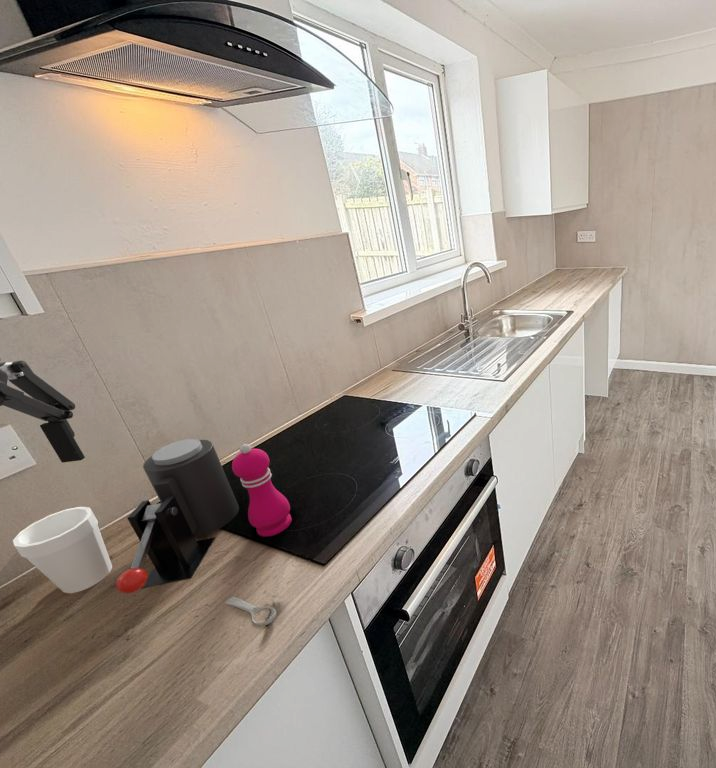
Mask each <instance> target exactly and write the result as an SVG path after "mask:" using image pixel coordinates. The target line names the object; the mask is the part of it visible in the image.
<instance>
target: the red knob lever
mask: <svg viewBox="0 0 716 768" xmlns="http://www.w3.org/2000/svg"><path fill="white" fill-rule="evenodd" d="M161 505H162V503H161V502H159V503H153V504H151V505H148V506H147V507H146V510H145V513H144V515H143V518H142V521H143V522H144V523H146V524H147V525H146V528H145V531H144V534H143V536H142V539H141V542H140V541H139V545H138V547H137V550H136V553H135V556H134V558H133V561H132V564H131V566H130V568H129V569H126V570H125V571H123V572H122V573H121V574H119V576H118V577H117V579H116V581H115V582H116V583H115V585H116V586H115V587H116V589H117V591H119V592H120V593H122V594H133V593H136V592H138V591H140V590H141V588H142V587H143V586H144V585H145V584H146V582H147V578H148V576H149V575H148V573H147V571H146V570H145V569H143V568H144V564H145V562H146V559H147V556H148V554H147V553H148V551H149V548H150V545H151V542H152V539H153V536H154V533H155V530H156V528H157V525H160V523H159V521H158V519H157V517H156V515H155V514H154V513H155V512H156V510H157V509H158V508H159V507H160V506H161ZM142 589H143V588H142Z"/></svg>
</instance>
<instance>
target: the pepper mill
mask: <svg viewBox="0 0 716 768" xmlns="http://www.w3.org/2000/svg"><path fill="white" fill-rule="evenodd" d="M270 461H271V460H270V458H269V455H268V454H267V452H266V451H264V450H263V449H260V448H252V446H251V445H250V444H248V443H243V444H242V445H240V447H239V453H237V455H236V456H235V457H234V458H233V460H232V462H231V470H232V472H233V474H234V475H235V477H238V478H240V479H239V481H240V483H241V485H242V488H245V489H246V490H247V492H248V496H249V504H248V509H247V519H248V522H249V524H250V525H251V526H252V527H254V528H256V529H255V530H256V533H257V535H258V536H260V537H264V538H265V537H266V538H267V537H273V536H276V535H278V534H280V533H282V532H284V531H285V530H286V529H287V528H288V527H289V526H290V525H291V524H292V520H293V518H292V515H291V514H290V511H291V504H290V502H289V500H288V499H287V497H286V496H285V495H284V494H283V493H282V492H280V491H279V490H278V489H276V487H275V486H274V485H273V483H272V479H271V478H272V475H273V473H272V472H271V469H270V468H269V466H270V464H271V463H270Z"/></svg>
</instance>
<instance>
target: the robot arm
mask: <svg viewBox="0 0 716 768" xmlns="http://www.w3.org/2000/svg"><path fill="white" fill-rule="evenodd" d="M0 361H1V358H0ZM8 381H9V382H10V383H11V384H12V385H14V386H15V387H17V388H18V389H17V388H15V387H12V386H10V385H8ZM2 406H4V407H7V408H8V409H12V410H14V411H17V412H20V413H23V414H25V415H28V416H30V417H32V418H35V419H38V420H41V421H44V423H42V424H39V428H40V429H41V430H42V432H43V434H44V435H45V437H46V439H47V440H48V442H49V444H50V445H51V447H52V449H53V451H54V452H55V454H56V455H57V457H58V459H59V460H60V462H61V463H69V462H70V463H71V462H78V461H82V460H84V459H85V458H86V456H85V455H84V453H83V451H82V450H81V448H80V446H79V444H78V442H77V441H76V439H75V437H76V435H75V434H76V433H75V431H74V430H73V427H72V426H71V424H70V423H69V421H68V420H69V419H72V418H73V417H74V412H73V410H75V409H76V404H75V403H74V402H73V401H72V400H70V399H69V398H67V396H65V395H63V394H62V393H61V392H60V391H58V389H55V388H54V386H51V385H50V384H49V383H48V382H46V381H45V380H43V379H42V378H41V377H40V376H38V375H37V374H36V373H34V371H33V370H32V368H31V367H30V366H29V364H28V363H27V362H26V361H25V360H16V361H15V360H14V361H4V362H0V407H2Z"/></svg>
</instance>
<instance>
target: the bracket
mask: <svg viewBox="0 0 716 768" xmlns="http://www.w3.org/2000/svg"><path fill="white" fill-rule="evenodd" d="M148 505H152V504H151V502H150V500H149V499H147V500H143V501H141V502H140V504H138V506H137V507H136V508H135V509H134V510H133V511H132V512H131V513H130V514H129V515H128V516H127V517H126V519H127V520H128V522H129V524H130V526H131V527H132V529H133V531H134V533H135V535H136V536H137V538H138V540H139V543H140V542H141V539H142V536H143V534H144V531H145V528H146V525H147V524H146V523H144V522H143V521H142V518H143V515H144V513H145V510H146V507H147V506H148ZM154 514H155V515H156V517H157V519H158V521H159V523H160V525H157V528H156V530H155V533H154V536H153V539H152V542H151V545H150V548H149V551H148V553H147V556H148V558H149V560H150V561H151V563H152V564H153V567H154V568H153V569H152V570H151V571H150V573H149V575H148V578H147V582H146V584H145V585H144V586H143V587H142V588H141V589H146V588H152V587H155V586H161V585H165V584H171V583H175V582H180V581H185V580H189V579H192V578H193V576H194V574H195V573H196V572H197V570H198V568H199V567H200V565H201V563H202V562H203V560H204V558H205V556H206V555H207V553H208V551H209V549H210V548H211V546H212V545H213V543H214V542H215V539H216V538H217V537H216V536H215V537H209V538H204V539H199V540H197V538H195V537H194V535H193V533H192V531H191V529H190V527H189V525H188V523H187V521H186V519H185V517H184V515H183V513H182V511H181V509H180V506H179V504H178V502H177V500H176V498H175V496H170V497H168V498H167V499H166V500H165V501H164V502H163V503H162V505H161V506H160V507H159V508H158V509H157V510H156V512H155V513H154ZM141 589H140V590H141Z"/></svg>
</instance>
